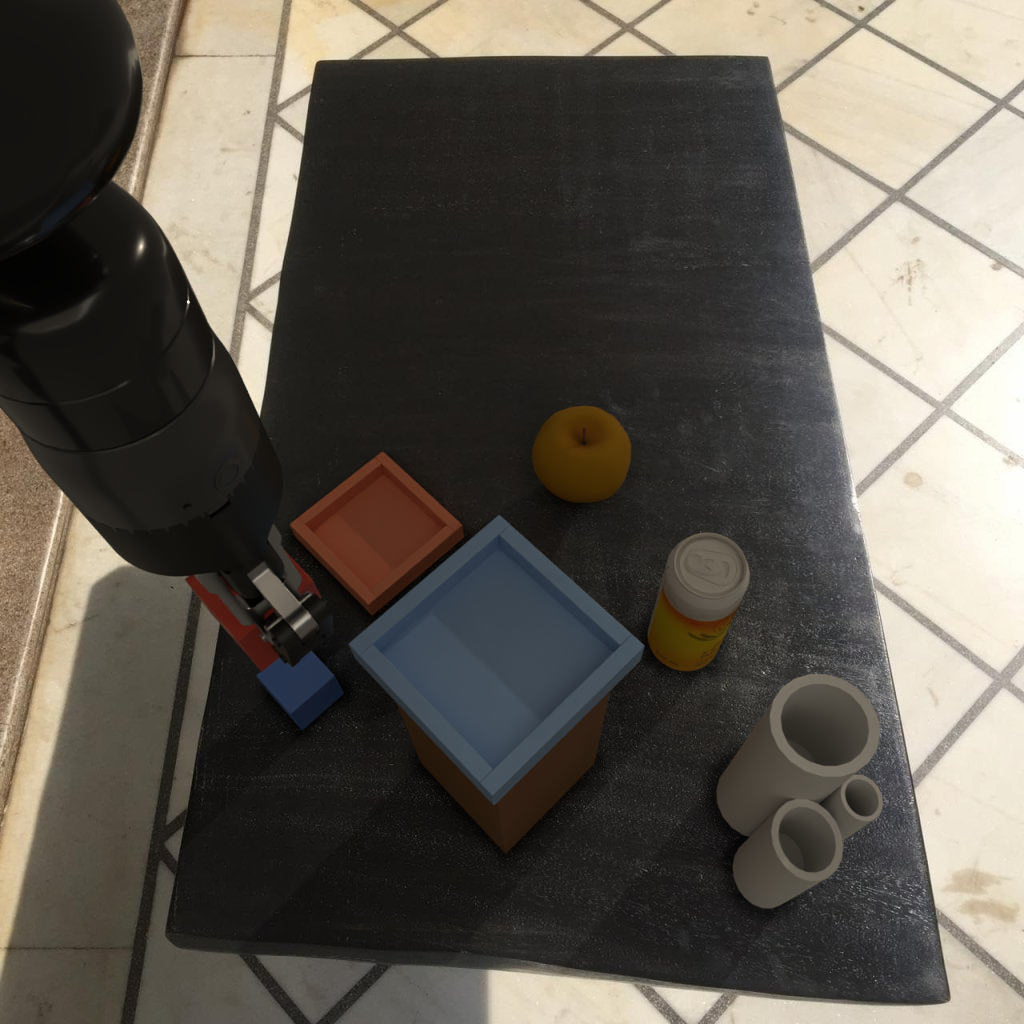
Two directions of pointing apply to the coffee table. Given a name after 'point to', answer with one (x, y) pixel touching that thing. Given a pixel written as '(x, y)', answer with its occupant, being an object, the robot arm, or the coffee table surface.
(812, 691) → the vase
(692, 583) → the beer can
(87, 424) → the robot arm
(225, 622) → the red block
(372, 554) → the red tray
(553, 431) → the apple
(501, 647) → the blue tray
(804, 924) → the coffee table surface
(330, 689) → the blue block
